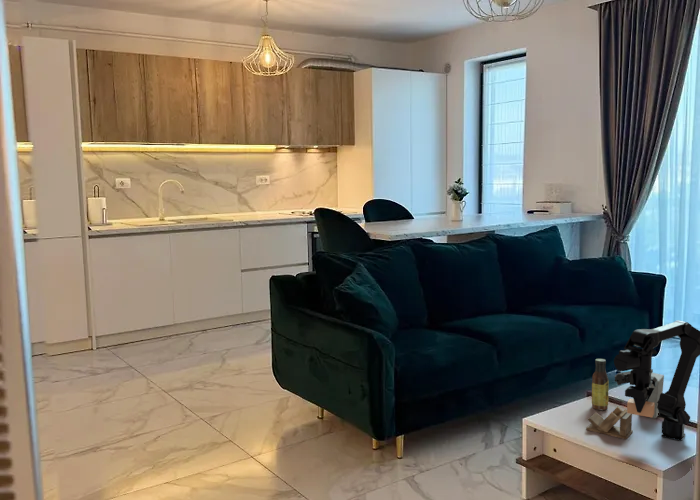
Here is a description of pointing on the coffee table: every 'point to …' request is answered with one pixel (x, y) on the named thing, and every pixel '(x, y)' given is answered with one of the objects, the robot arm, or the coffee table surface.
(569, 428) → the coffee table surface
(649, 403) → the peg
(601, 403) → the sauce bottle
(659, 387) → the skincare box
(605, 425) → the cradle
